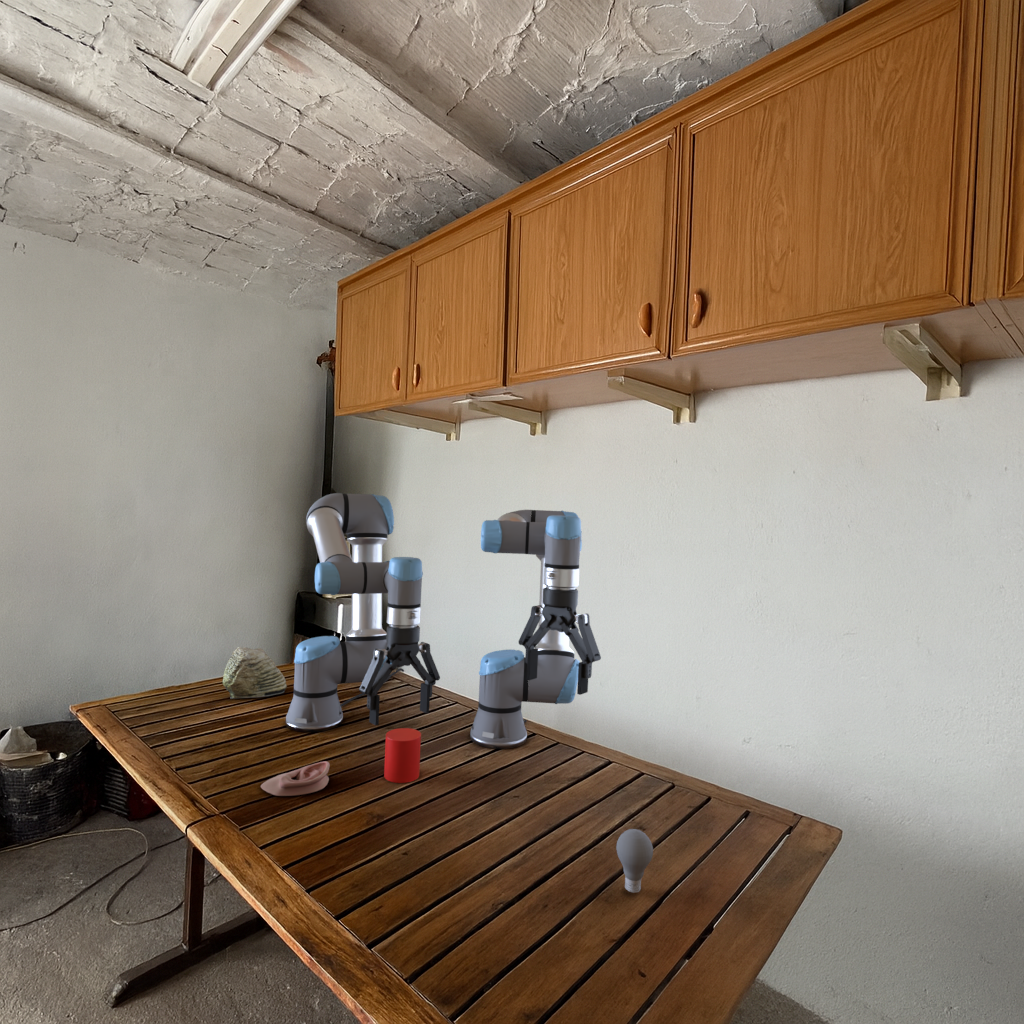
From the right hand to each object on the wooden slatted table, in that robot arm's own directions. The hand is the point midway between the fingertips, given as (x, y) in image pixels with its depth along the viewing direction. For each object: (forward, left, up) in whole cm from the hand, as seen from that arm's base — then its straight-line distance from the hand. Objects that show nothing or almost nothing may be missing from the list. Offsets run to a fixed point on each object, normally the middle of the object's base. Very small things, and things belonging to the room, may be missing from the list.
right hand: (556, 685), depth 136 cm
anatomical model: (+35, -43, -25) cm, 61 cm away
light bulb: (+16, +29, -25) cm, 41 cm away
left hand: (+16, -32, -11) cm, 38 cm away
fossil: (+12, -108, -25) cm, 111 cm away
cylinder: (+15, -32, -25) cm, 43 cm away
